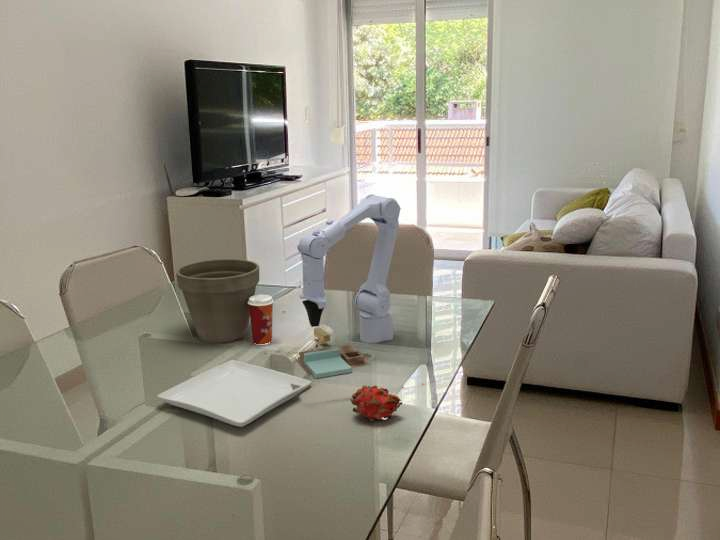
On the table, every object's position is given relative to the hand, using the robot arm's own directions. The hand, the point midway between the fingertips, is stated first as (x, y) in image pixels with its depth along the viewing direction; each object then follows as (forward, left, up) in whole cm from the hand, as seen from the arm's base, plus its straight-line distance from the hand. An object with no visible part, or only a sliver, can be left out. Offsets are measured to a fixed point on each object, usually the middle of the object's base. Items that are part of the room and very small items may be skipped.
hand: (314, 325), depth 194 cm
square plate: (+26, +16, -11) cm, 32 cm away
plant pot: (+20, -31, -10) cm, 38 cm away
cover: (0, +10, -9) cm, 13 cm away
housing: (-3, +4, -10) cm, 11 cm away
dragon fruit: (-2, +38, -11) cm, 40 cm away
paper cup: (+10, -20, -10) cm, 25 cm away
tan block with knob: (-5, -9, -10) cm, 14 cm away
